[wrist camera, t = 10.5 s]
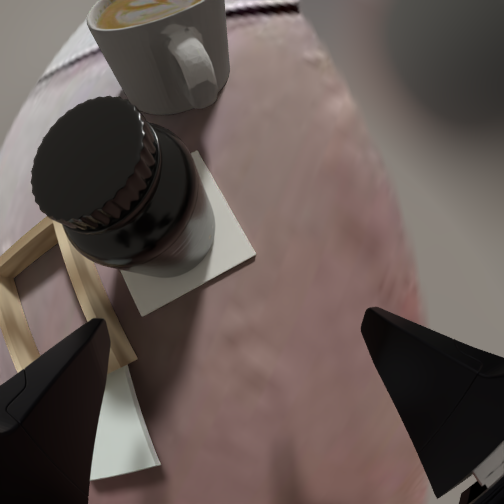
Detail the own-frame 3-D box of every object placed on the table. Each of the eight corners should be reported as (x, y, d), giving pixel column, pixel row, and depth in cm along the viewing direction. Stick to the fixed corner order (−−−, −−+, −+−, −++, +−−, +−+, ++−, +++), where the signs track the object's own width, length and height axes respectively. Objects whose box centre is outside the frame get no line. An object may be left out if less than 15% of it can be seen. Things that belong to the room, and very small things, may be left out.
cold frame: (138, 359, 19) (121, 367, 16) (53, 397, 18) (33, 406, 15) (78, 218, 20) (58, 207, 17) (7, 274, 19) (-14, 270, 16)
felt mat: (255, 254, 20) (256, 254, 19) (143, 316, 19) (141, 316, 19) (197, 152, 21) (197, 150, 21) (98, 210, 20) (96, 208, 20)
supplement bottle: (113, 263, 19) (-10, 223, 7) (144, 176, 20) (63, 74, 8) (200, 292, 19) (125, 283, 7) (230, 197, 20) (208, 79, 8)
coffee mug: (124, 62, 23) (91, -6, 13) (215, 34, 23) (206, -42, 14) (136, 163, 21) (76, 87, 11) (256, 125, 21) (259, 28, 12)
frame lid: (175, 439, 17) (158, 468, 13) (98, 461, 17) (74, 485, 12) (124, 356, 18) (94, 368, 14) (54, 389, 18) (21, 402, 13)
